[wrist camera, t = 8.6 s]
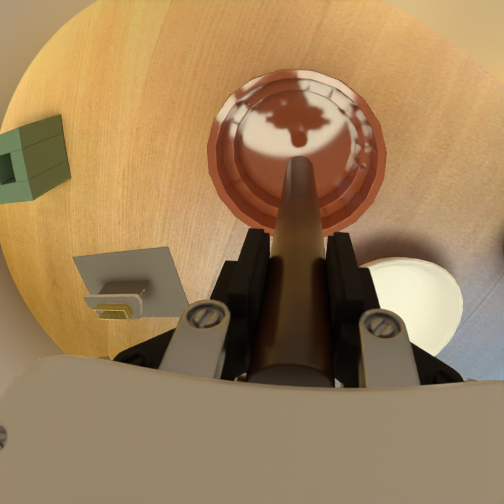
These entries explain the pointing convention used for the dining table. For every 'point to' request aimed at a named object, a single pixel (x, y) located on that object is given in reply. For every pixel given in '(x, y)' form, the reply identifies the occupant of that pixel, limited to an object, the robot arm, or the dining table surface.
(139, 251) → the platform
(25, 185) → the stand
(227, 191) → the mixing bowl
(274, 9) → the dining table surface
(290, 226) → the stick
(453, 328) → the bowl
